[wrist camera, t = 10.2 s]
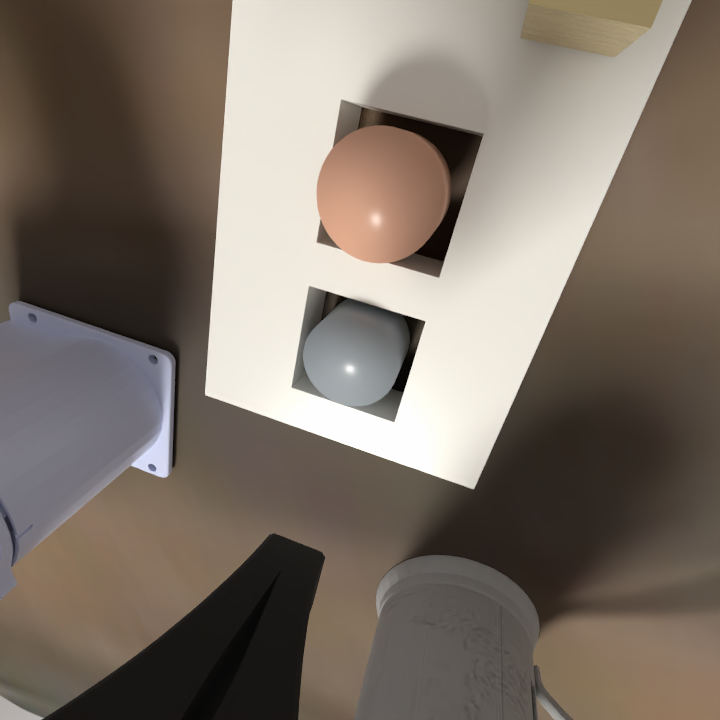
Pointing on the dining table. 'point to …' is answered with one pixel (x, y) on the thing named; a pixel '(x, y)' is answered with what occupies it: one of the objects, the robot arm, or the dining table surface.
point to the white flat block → (416, 272)
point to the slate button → (356, 352)
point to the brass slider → (589, 23)
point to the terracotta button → (383, 193)
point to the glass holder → (453, 646)
